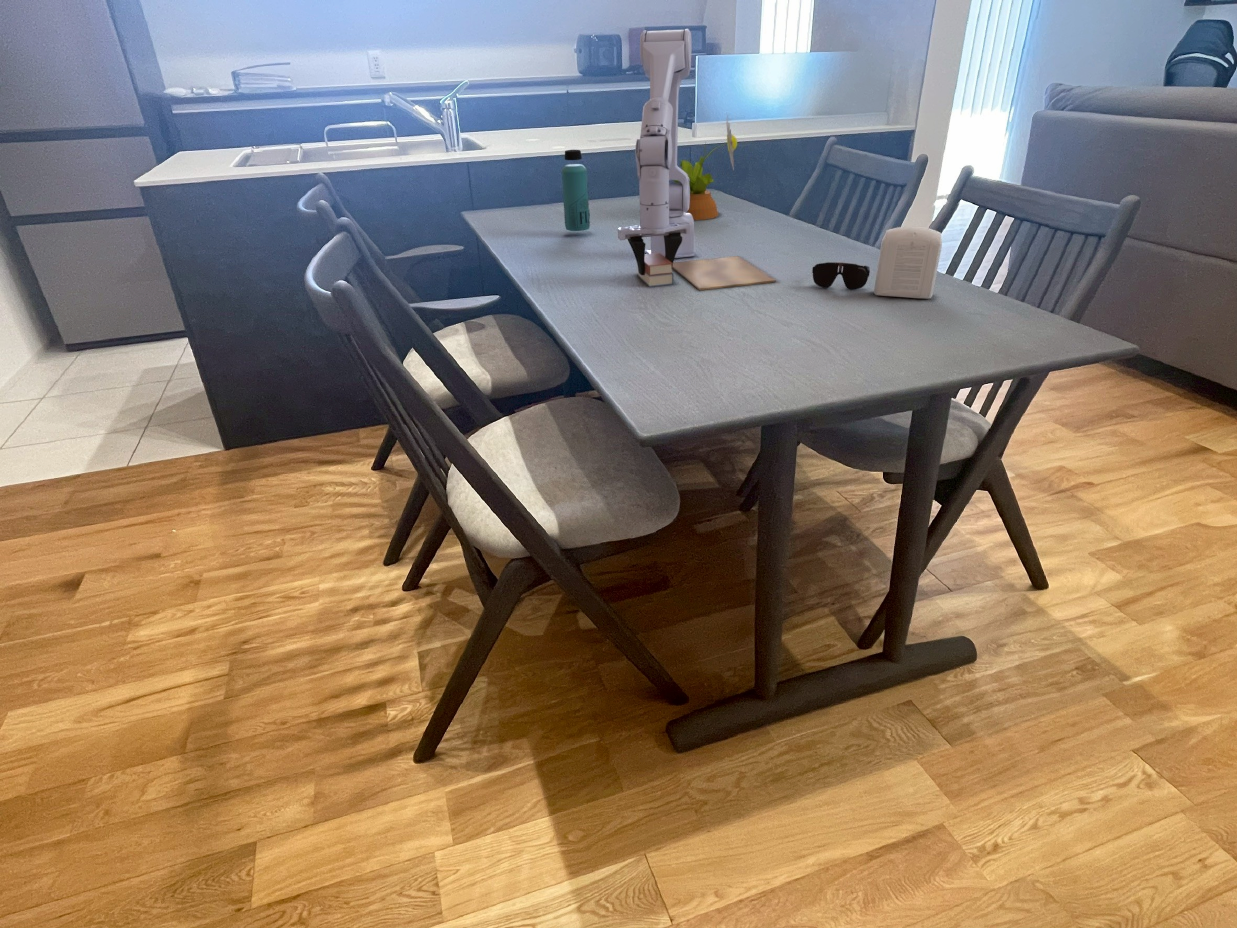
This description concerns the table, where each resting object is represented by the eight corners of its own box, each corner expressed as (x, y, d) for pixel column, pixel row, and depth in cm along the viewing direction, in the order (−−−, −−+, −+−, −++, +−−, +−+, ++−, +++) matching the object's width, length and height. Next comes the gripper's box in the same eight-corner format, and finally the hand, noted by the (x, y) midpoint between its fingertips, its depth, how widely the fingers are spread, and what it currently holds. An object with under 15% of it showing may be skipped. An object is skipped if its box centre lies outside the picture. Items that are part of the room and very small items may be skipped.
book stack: (660, 272, 155) (660, 252, 153) (673, 284, 148) (673, 263, 145) (637, 275, 154) (637, 255, 152) (649, 287, 147) (649, 265, 144)
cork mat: (737, 257, 164) (737, 256, 163) (775, 282, 147) (775, 280, 146) (668, 264, 160) (668, 262, 160) (699, 290, 144) (699, 288, 143)
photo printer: (931, 293, 137) (944, 225, 131) (933, 300, 133) (945, 230, 127) (873, 290, 140) (883, 223, 134) (873, 297, 136) (882, 228, 130)
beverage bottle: (581, 238, 184) (576, 152, 175) (559, 235, 188) (553, 151, 178) (595, 232, 189) (591, 148, 179) (574, 230, 192) (569, 147, 182)
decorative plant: (739, 223, 193) (744, 118, 181) (647, 226, 194) (645, 121, 181) (727, 203, 216) (731, 109, 204) (645, 206, 217) (644, 112, 205)
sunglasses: (809, 287, 142) (812, 261, 140) (816, 279, 152) (819, 254, 150) (866, 291, 139) (870, 264, 137) (869, 282, 149) (873, 256, 147)
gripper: (623, 209, 139) (625, 281, 145) (696, 203, 141) (695, 274, 148) (614, 203, 145) (616, 272, 151) (684, 197, 147) (684, 265, 154)
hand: (654, 272), depth 150 cm, fingers closed on book stack, 5 cm apart
